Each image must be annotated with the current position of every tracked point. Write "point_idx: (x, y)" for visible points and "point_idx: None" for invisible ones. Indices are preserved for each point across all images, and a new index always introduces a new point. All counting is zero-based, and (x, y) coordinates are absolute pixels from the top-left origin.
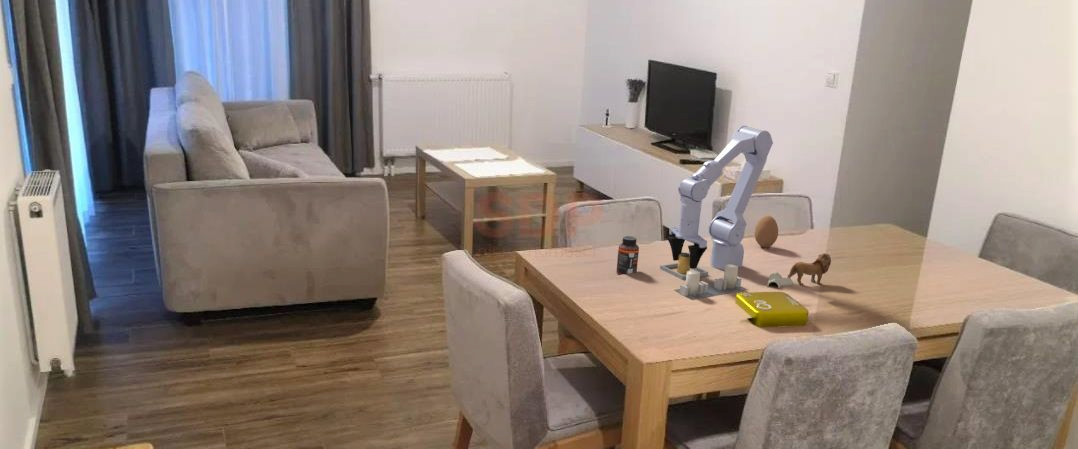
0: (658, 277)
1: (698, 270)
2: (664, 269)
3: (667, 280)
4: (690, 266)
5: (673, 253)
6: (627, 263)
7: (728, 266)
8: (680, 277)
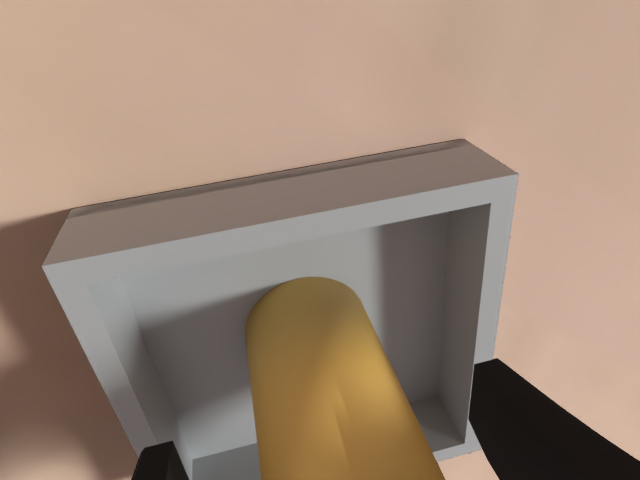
0: (362, 53)
1: None
2: (420, 180)
3: (236, 111)
4: (150, 466)
5: (548, 429)
6: None
7: None
8: (82, 243)
